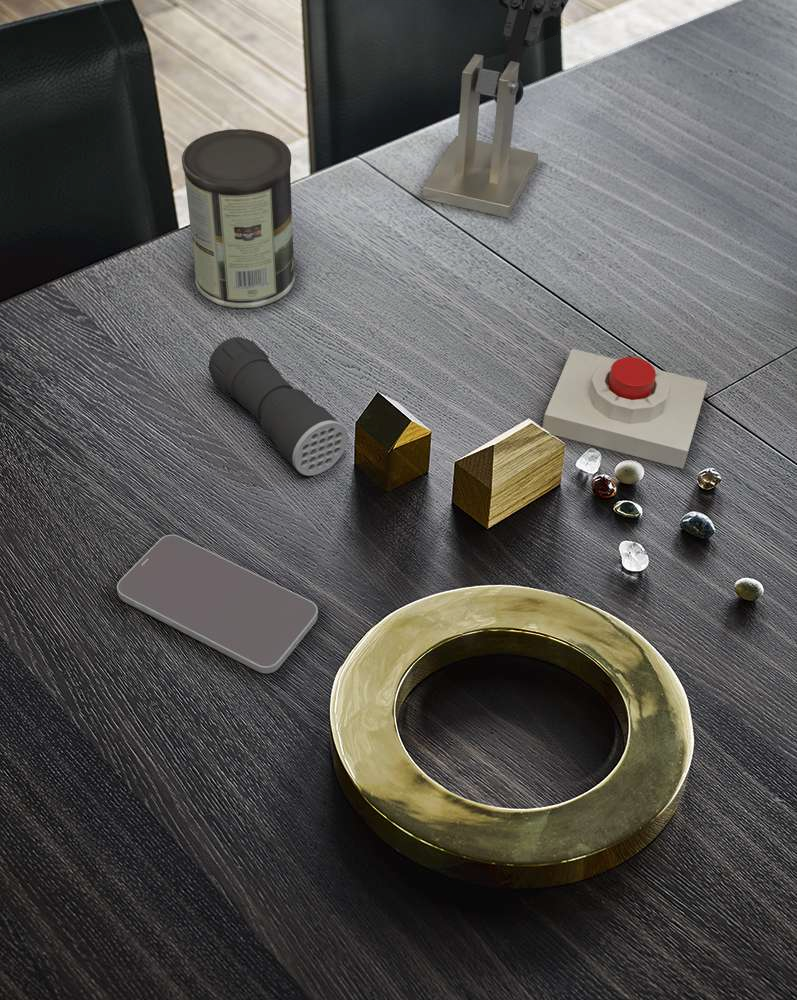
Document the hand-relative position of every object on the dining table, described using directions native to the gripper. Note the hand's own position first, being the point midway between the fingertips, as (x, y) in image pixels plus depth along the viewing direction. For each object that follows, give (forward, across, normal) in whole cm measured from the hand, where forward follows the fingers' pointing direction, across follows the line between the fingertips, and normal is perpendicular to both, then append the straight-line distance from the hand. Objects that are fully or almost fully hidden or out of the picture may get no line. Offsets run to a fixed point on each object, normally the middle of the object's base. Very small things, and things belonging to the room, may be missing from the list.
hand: (510, 69), depth 142 cm
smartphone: (+60, +1, +48) cm, 77 cm away
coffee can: (+32, +17, +19) cm, 41 cm away
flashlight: (+46, +5, +33) cm, 56 cm away
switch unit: (+13, 0, 0) cm, 13 cm away
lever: (+5, 0, +3) cm, 6 cm away
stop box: (+36, -24, +24) cm, 49 cm away
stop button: (+34, -24, +26) cm, 49 cm away
